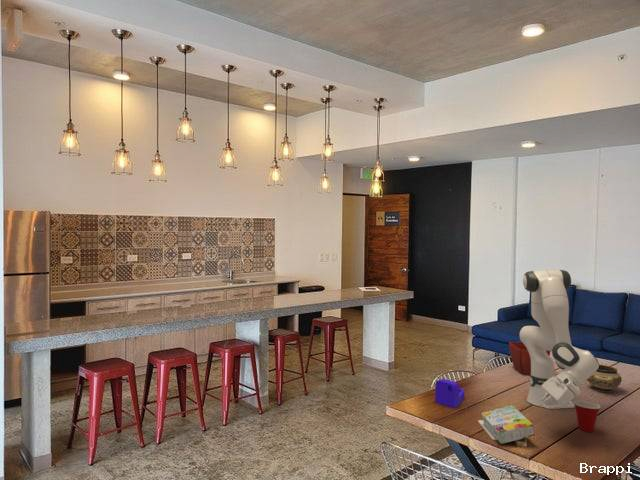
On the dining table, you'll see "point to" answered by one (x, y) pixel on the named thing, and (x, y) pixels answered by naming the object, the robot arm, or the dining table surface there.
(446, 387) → the bracket
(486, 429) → the mat
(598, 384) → the ceramic bowl
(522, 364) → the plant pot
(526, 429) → the snack box
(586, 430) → the plastic cup
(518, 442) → the tear bar
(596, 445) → the dining table surface
